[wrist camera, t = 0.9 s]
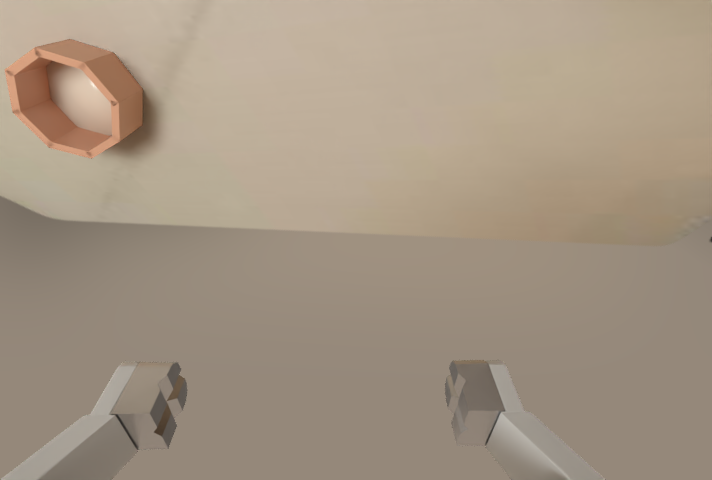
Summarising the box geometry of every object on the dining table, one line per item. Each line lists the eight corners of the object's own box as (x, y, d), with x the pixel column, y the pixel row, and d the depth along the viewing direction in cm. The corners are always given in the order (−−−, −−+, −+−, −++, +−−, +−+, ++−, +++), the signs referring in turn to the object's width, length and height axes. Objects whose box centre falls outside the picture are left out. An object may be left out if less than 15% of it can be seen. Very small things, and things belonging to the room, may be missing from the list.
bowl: (38, 29, 42) (-2, 36, 37) (143, 61, 44) (117, 72, 40) (51, 122, 48) (17, 139, 43) (142, 147, 50) (120, 166, 46)
